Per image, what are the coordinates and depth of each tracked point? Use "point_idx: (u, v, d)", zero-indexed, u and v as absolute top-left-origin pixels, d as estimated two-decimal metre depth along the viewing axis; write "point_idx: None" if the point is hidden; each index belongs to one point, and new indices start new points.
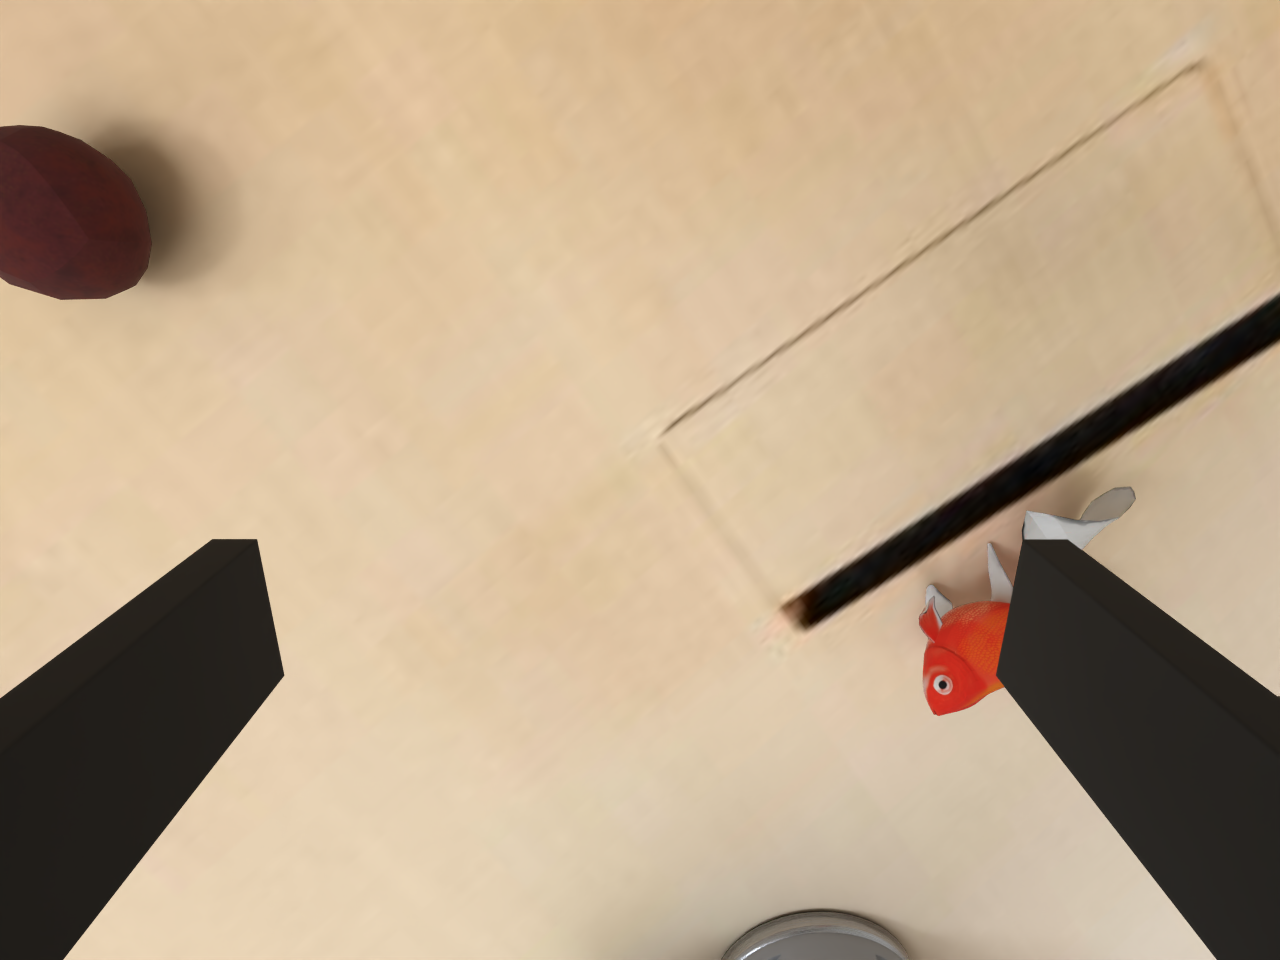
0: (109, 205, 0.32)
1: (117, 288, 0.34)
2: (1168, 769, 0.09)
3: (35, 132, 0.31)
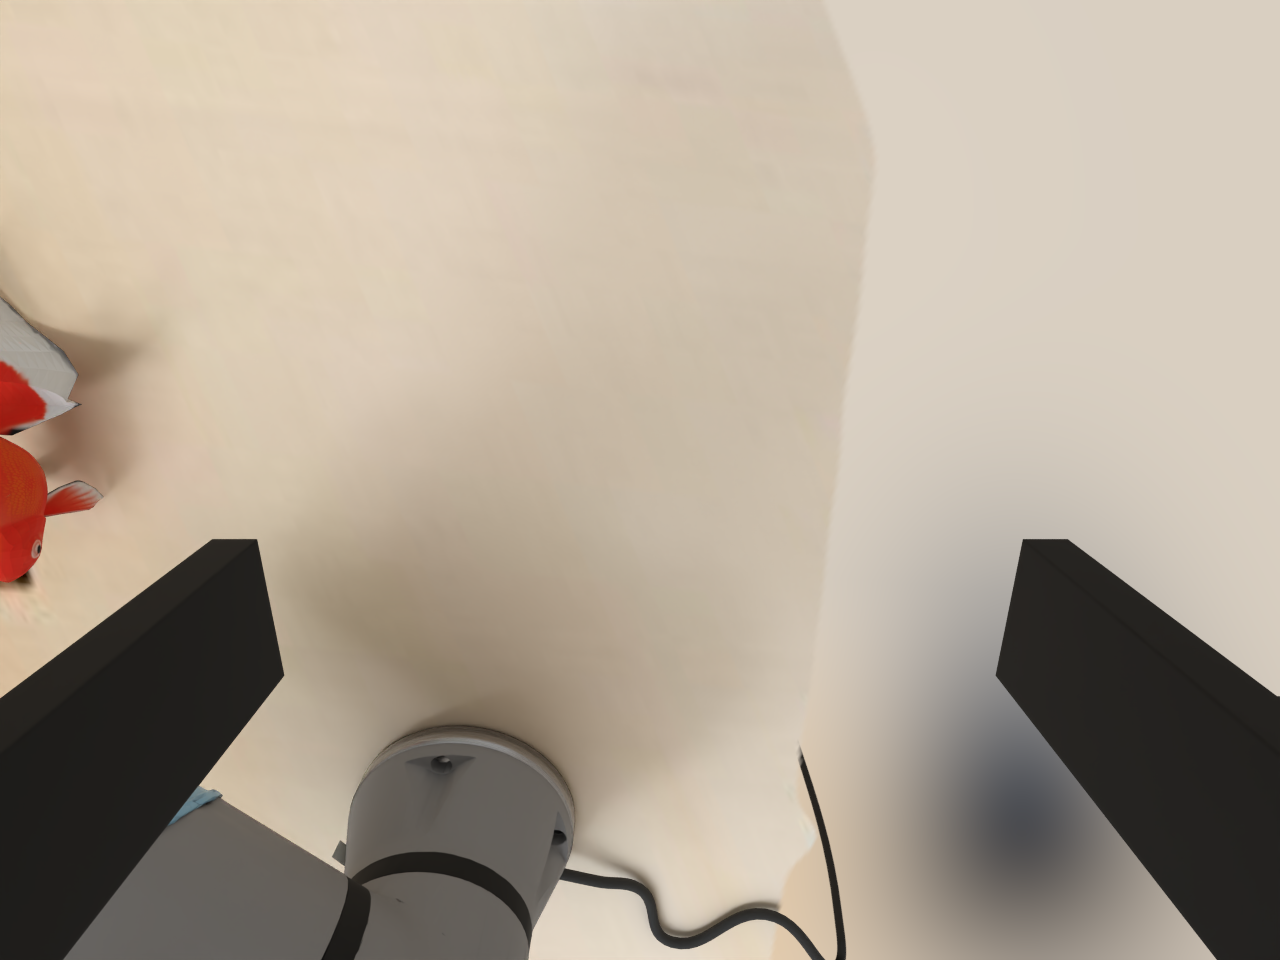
0: None
1: None
2: (1168, 770, 0.09)
3: None
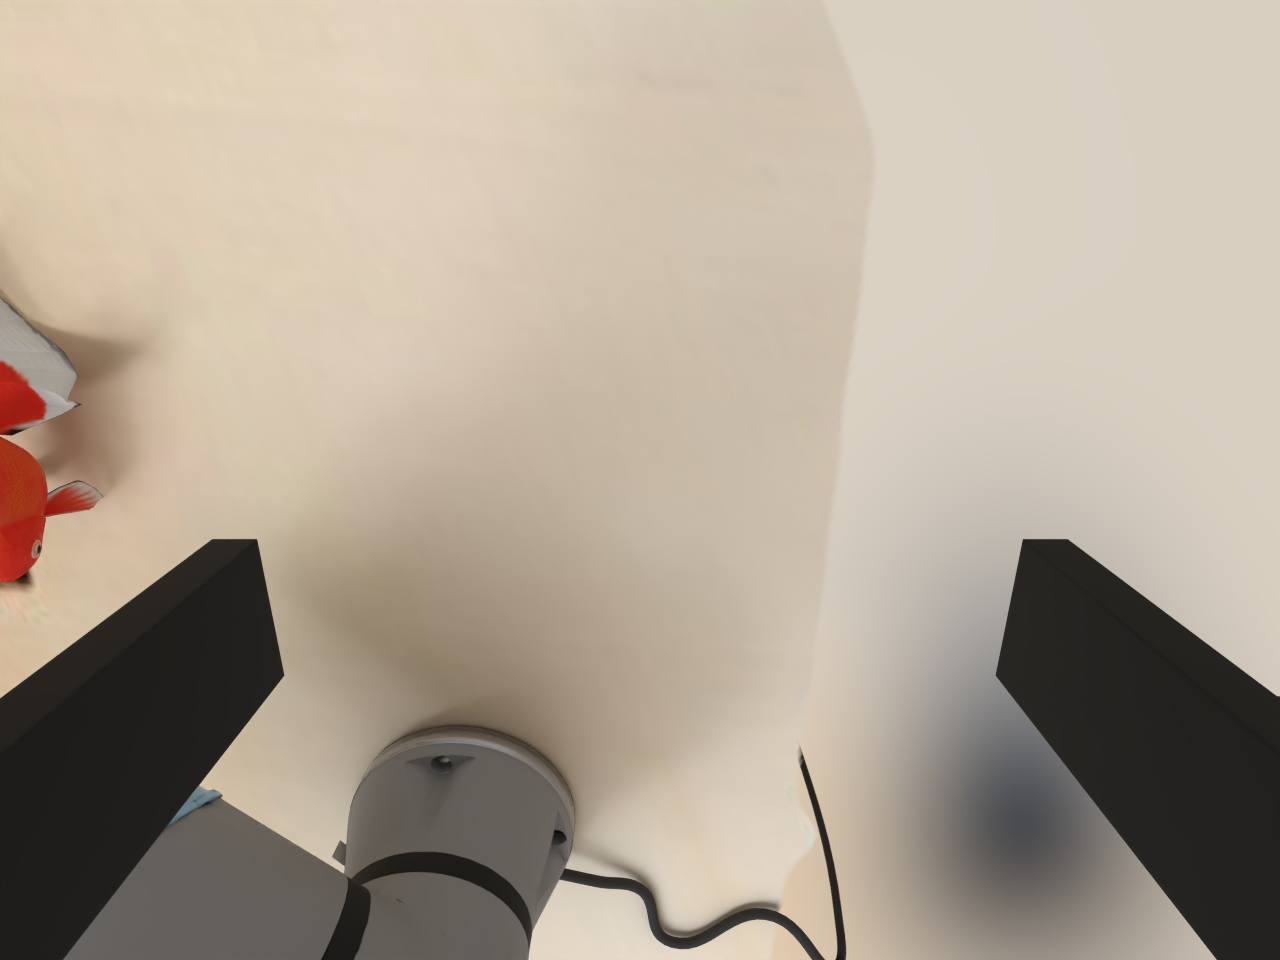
0: None
1: None
2: (1169, 770, 0.09)
3: None
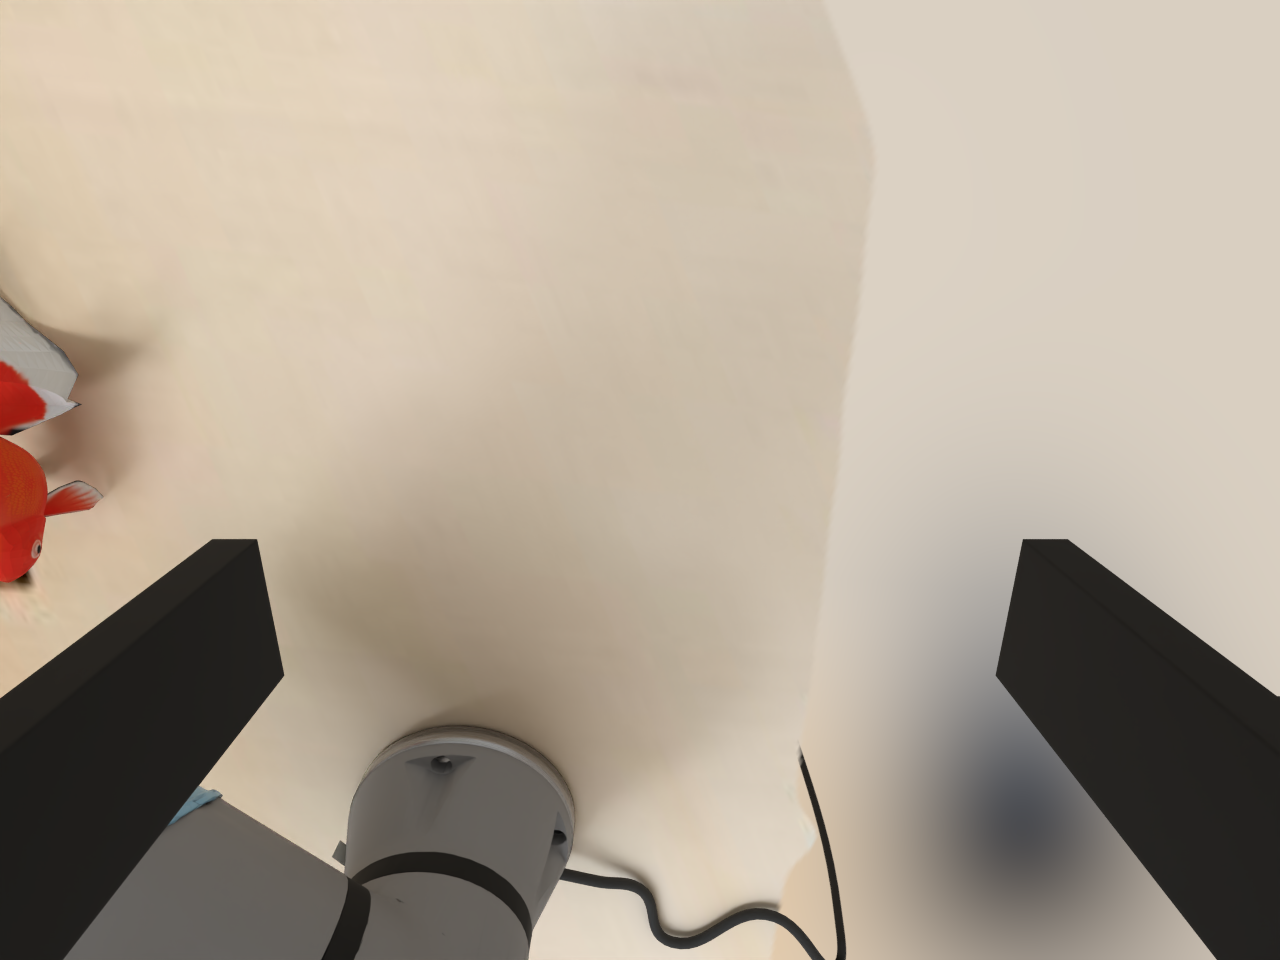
0: None
1: None
2: (1169, 770, 0.09)
3: None
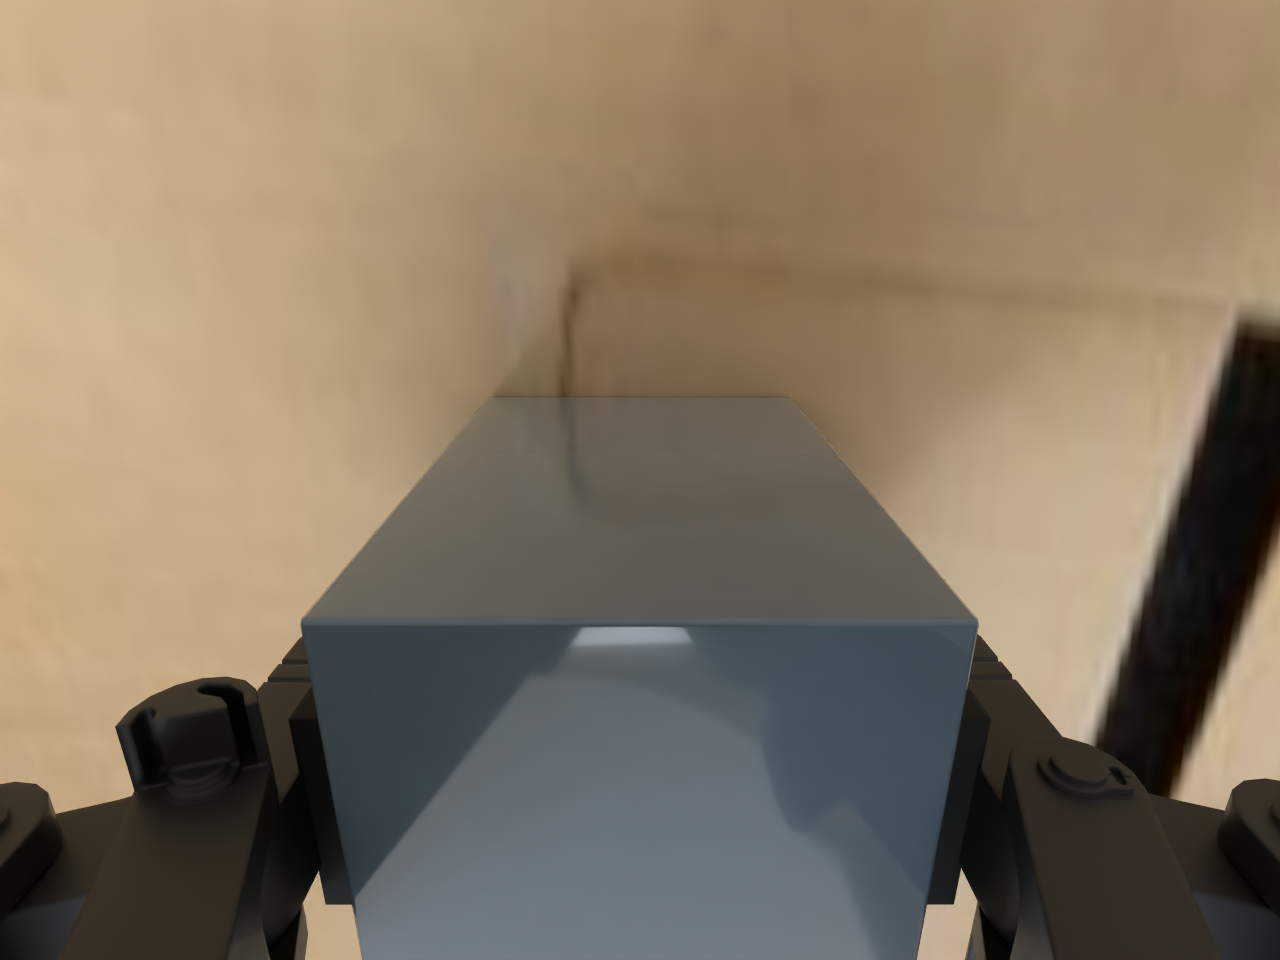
0: None
1: None
2: None
3: None
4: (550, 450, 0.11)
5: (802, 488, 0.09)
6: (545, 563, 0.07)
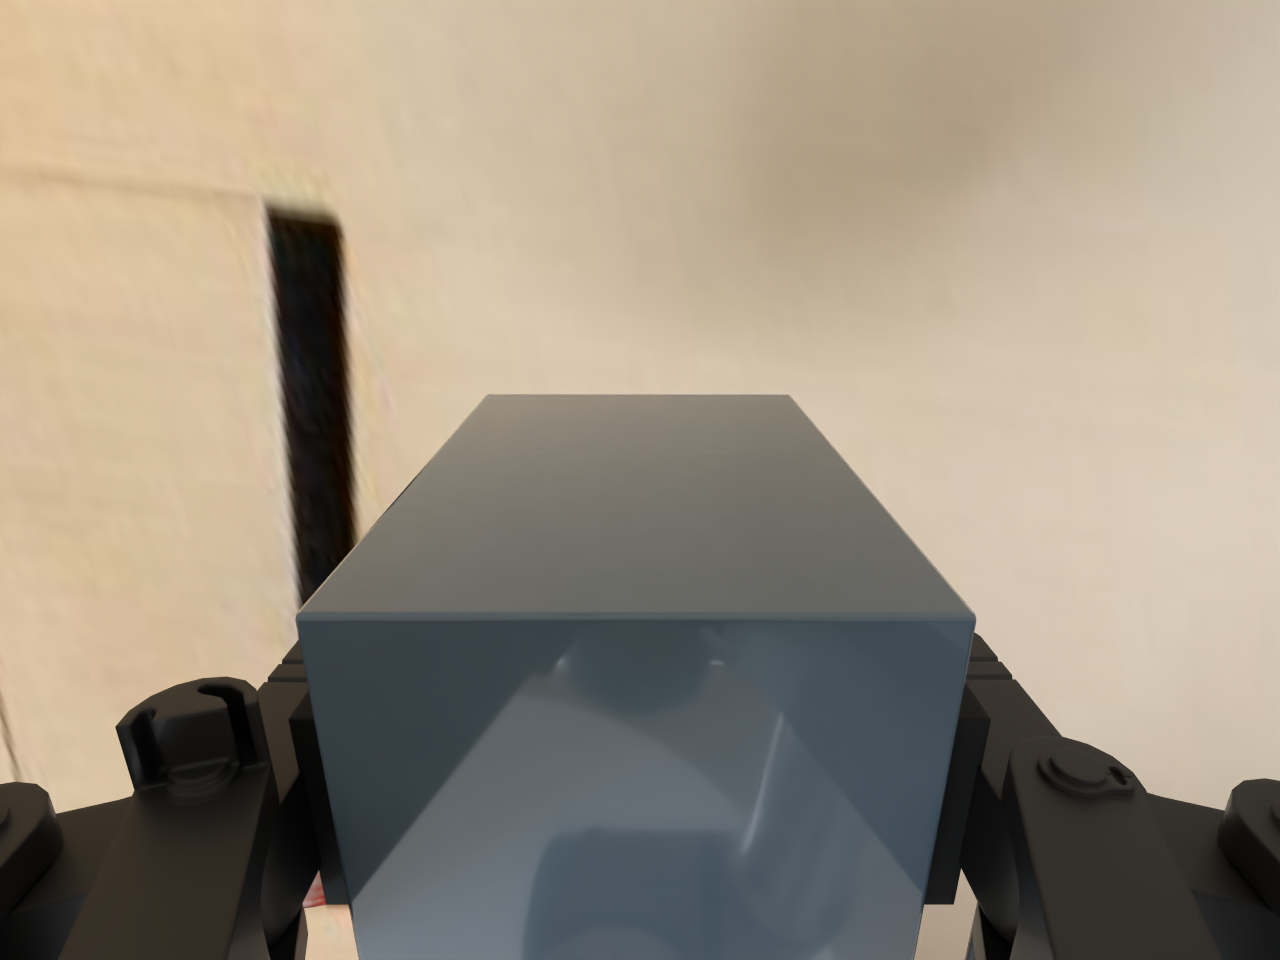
0: None
1: None
2: None
3: None
4: (547, 446, 0.11)
5: (800, 483, 0.09)
6: (541, 560, 0.07)
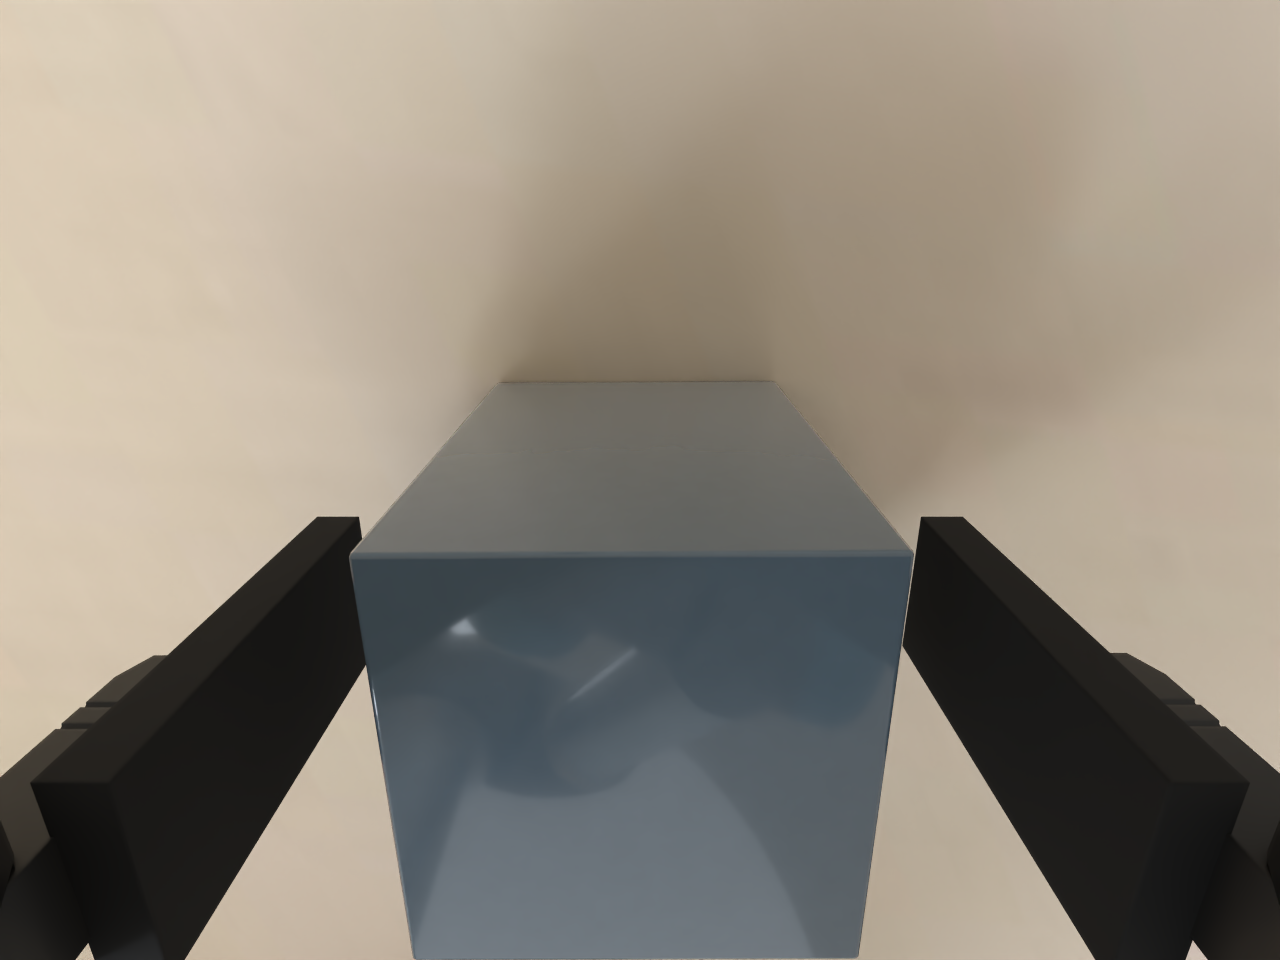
0: None
1: None
2: (1018, 718, 0.10)
3: None
4: (553, 426, 0.12)
5: (776, 454, 0.11)
6: (552, 513, 0.09)
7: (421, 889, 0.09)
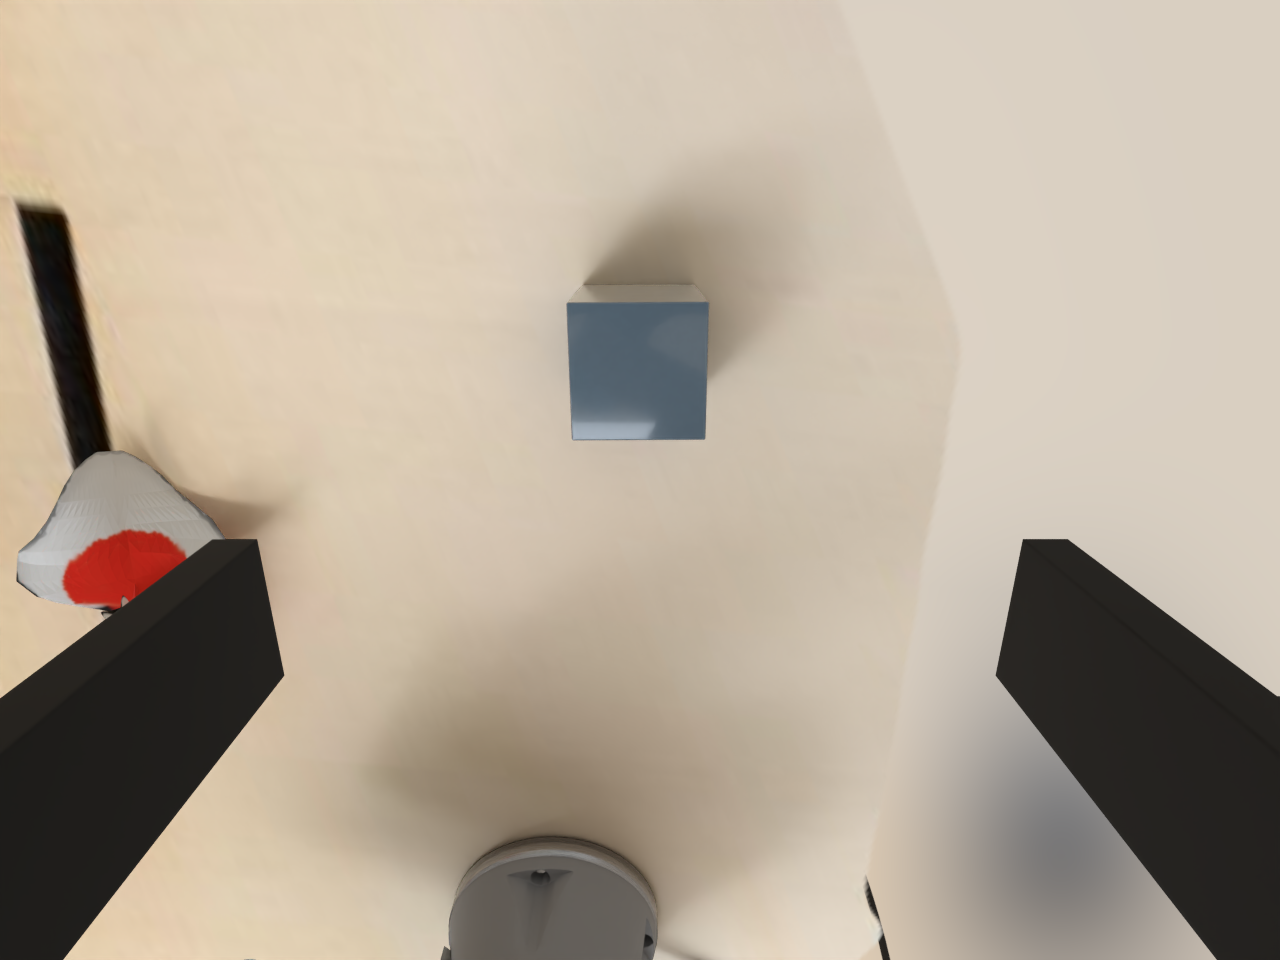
0: None
1: None
2: (1170, 770, 0.09)
3: None
4: (609, 290, 0.35)
5: (683, 293, 0.34)
6: (615, 299, 0.32)
7: (577, 411, 0.32)
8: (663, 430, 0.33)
